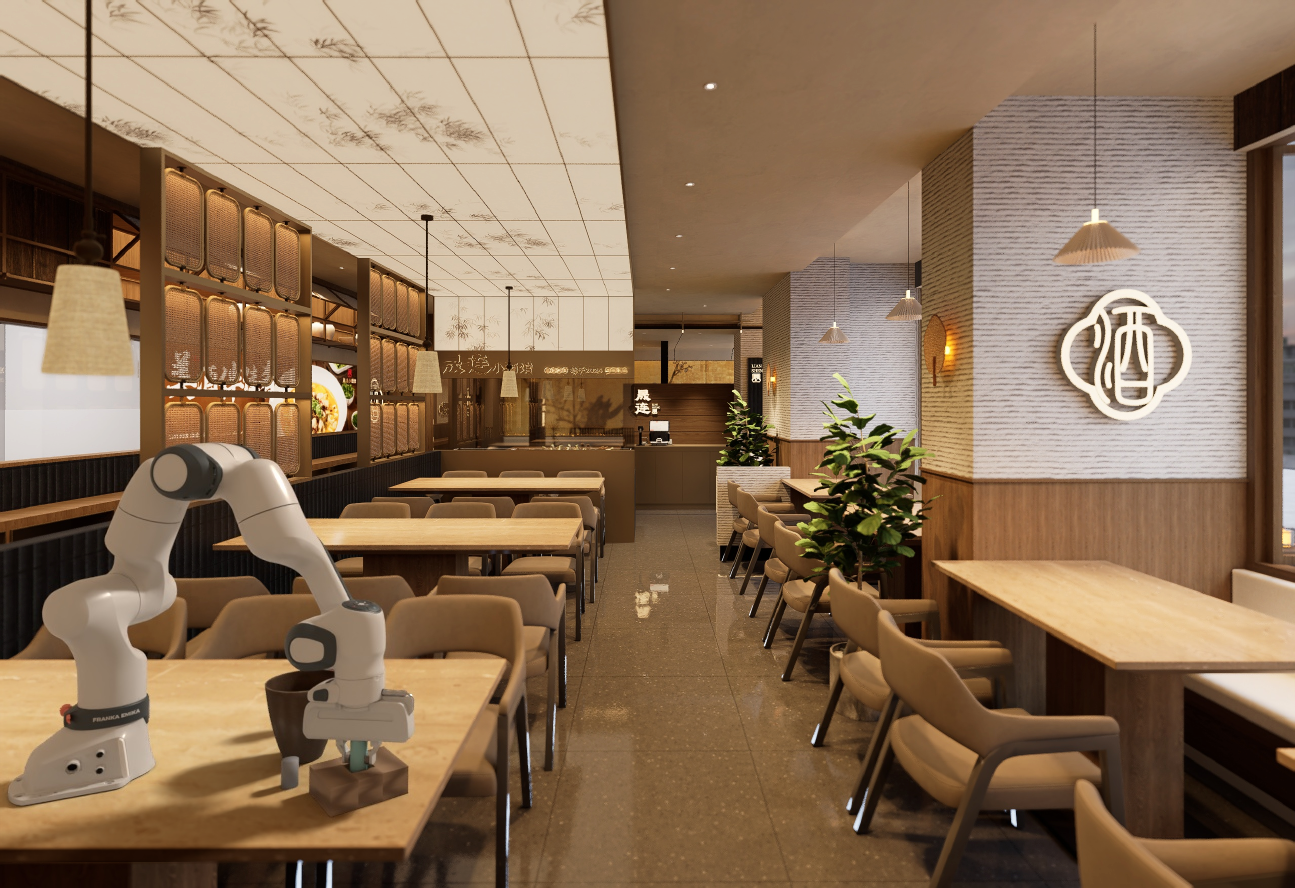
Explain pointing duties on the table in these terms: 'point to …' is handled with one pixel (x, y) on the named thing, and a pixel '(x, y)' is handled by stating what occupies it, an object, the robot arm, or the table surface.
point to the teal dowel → (357, 755)
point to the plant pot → (294, 712)
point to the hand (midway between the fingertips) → (358, 762)
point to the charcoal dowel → (289, 772)
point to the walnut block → (357, 782)
